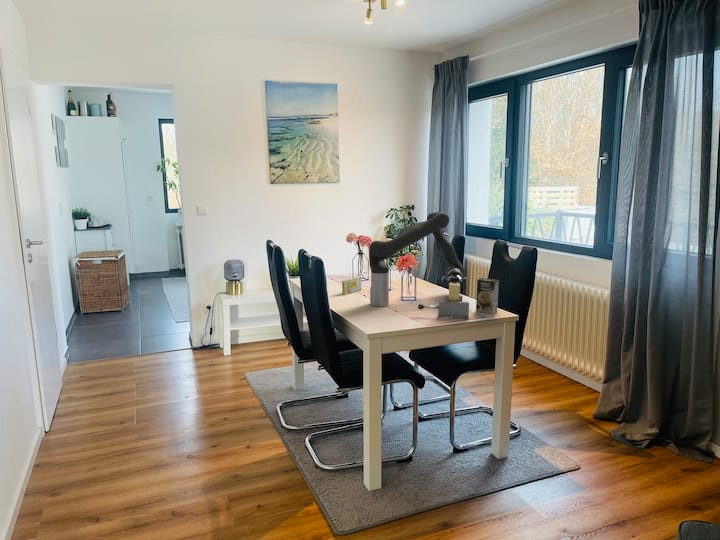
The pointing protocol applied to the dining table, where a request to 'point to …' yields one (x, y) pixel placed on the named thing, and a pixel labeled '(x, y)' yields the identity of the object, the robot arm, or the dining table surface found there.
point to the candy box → (351, 285)
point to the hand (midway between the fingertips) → (454, 282)
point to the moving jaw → (459, 298)
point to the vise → (450, 309)
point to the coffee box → (487, 295)
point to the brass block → (454, 291)
